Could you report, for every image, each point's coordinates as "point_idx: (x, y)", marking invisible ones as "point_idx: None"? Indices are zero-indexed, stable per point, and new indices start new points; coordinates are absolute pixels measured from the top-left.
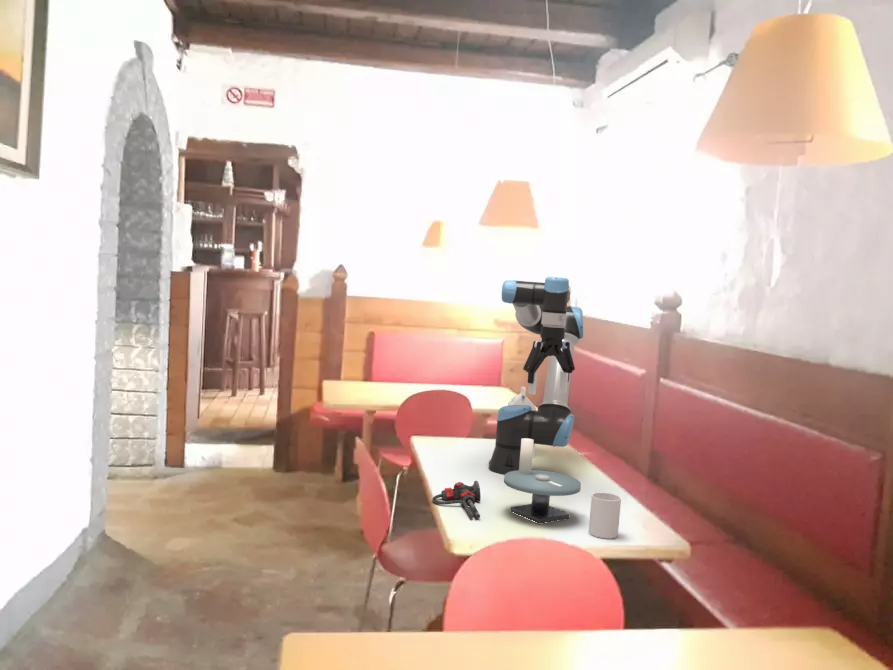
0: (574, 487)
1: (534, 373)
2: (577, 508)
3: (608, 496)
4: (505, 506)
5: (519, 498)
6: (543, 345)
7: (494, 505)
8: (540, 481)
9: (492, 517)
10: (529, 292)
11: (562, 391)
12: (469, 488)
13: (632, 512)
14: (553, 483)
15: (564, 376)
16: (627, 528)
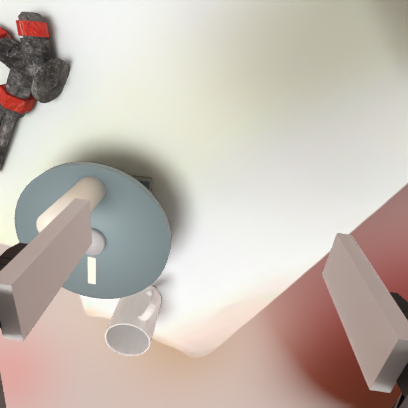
0: (113, 295)
1: (2, 329)
2: (211, 214)
3: (147, 330)
4: (93, 140)
5: (157, 117)
6: None
7: (76, 125)
8: None
9: (31, 172)
10: None
11: (330, 261)
12: (25, 77)
13: (277, 271)
14: (89, 268)
15: (365, 344)
16: (196, 301)
